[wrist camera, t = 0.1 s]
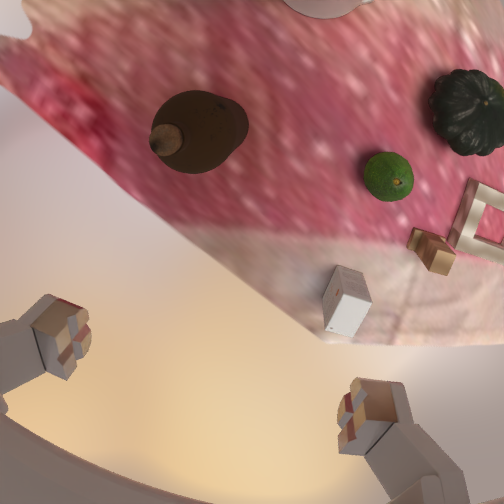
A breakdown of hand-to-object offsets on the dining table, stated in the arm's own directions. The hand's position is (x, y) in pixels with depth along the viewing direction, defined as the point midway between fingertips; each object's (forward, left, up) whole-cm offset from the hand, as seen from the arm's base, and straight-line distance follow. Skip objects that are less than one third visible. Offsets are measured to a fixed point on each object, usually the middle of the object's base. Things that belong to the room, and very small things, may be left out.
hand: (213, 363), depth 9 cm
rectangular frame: (+1, +43, -48) cm, 64 cm away
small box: (+22, +17, -48) cm, 56 cm away
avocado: (-1, +17, -48) cm, 51 cm away
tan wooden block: (+9, +30, -48) cm, 57 cm away
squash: (-16, +28, -48) cm, 58 cm away
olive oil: (-2, -11, -48) cm, 49 cm away
